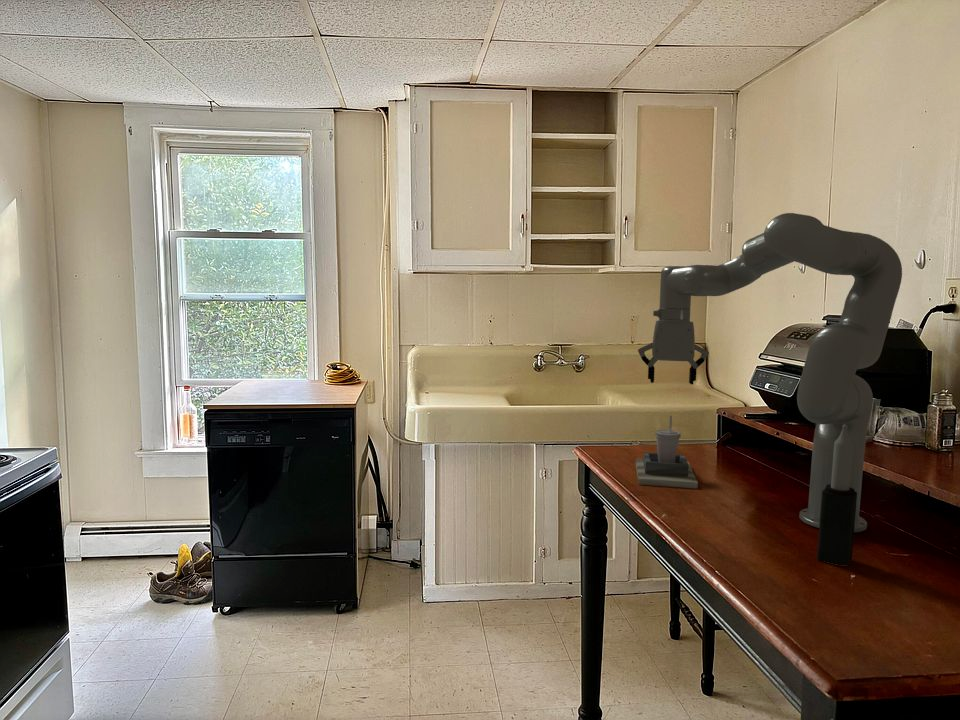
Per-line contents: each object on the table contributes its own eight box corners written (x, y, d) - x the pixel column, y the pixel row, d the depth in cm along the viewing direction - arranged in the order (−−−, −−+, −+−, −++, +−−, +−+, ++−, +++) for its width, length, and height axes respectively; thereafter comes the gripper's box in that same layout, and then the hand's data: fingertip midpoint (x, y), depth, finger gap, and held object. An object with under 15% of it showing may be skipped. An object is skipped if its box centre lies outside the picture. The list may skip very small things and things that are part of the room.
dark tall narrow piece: (822, 552, 126) (832, 420, 123) (852, 559, 122) (864, 424, 119) (815, 560, 122) (826, 424, 119) (846, 568, 118) (858, 428, 116)
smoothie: (681, 472, 171) (684, 418, 170) (656, 472, 171) (659, 418, 170) (675, 465, 177) (677, 413, 176) (650, 465, 178) (653, 413, 176)
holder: (697, 488, 164) (698, 470, 163) (638, 484, 166) (639, 466, 166) (688, 467, 183) (688, 450, 183) (635, 463, 186) (636, 447, 185)
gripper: (640, 315, 167) (637, 383, 169) (712, 317, 164) (709, 386, 166) (638, 314, 175) (636, 379, 177) (708, 315, 172) (704, 382, 173)
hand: (671, 382), depth 171 cm, fingers open, 9 cm apart
